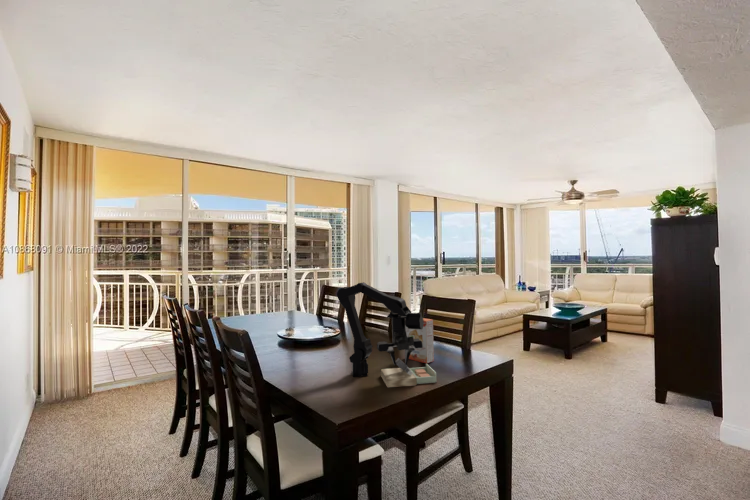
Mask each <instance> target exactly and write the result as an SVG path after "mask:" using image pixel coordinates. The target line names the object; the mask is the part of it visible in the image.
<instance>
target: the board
mask: <svg viewBox="0 0 750 500" xmlns="http://www.w3.org/2000/svg"><path fill="white" fill-rule="evenodd" d="M380 376H381V378H382V380H383V382H384V384H385V385H386V387H387V388H397V387H411V386H417V384H416V377H415V376H414V374H412V375H411V376H410V375H409V374H408V373H407V372H406V371H405V370H404V371H403V370H402V369H401V368H400V367H392V368H382V369H380Z"/></svg>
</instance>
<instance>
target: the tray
mask: <svg viewBox="0 0 750 500" xmlns="http://www.w3.org/2000/svg"><path fill="white" fill-rule="evenodd" d="M408 368H409V369H410V370H411V371H412V373H413V374H414V376H415V377H416V385H419V384H432V383H433V384H435V383H437V380H438V379H437V378H438V377H437V371H436V370H434V369H433V368H432V367H431V366H430V365H429V363H427V364H426V363H425V366H422V367H419V366H418V367H408ZM418 369H424V370H425V371H426V374H429V375H430V376H429V377H419V376H417V375H416V374H415V370H418Z"/></svg>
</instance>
